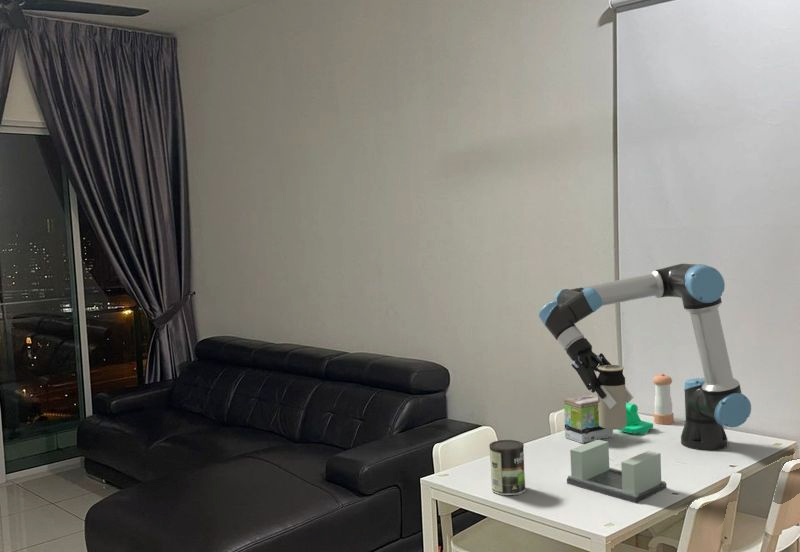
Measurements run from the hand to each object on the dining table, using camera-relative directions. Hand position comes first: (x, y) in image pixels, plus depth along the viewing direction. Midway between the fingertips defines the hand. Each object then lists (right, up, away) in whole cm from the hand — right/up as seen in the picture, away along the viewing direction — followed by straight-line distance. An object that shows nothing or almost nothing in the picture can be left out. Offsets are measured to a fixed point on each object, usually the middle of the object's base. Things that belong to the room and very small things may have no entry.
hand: (621, 403), depth 218 cm
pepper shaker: (+37, -20, +69) cm, 81 cm away
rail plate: (-1, -26, +4) cm, 26 cm away
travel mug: (-2, -8, +3) cm, 9 cm away
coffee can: (-33, -28, +6) cm, 43 cm away
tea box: (+4, -22, +55) cm, 59 cm away
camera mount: (+23, -21, +60) cm, 67 cm away
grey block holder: (-1, -24, +4) cm, 25 cm away
